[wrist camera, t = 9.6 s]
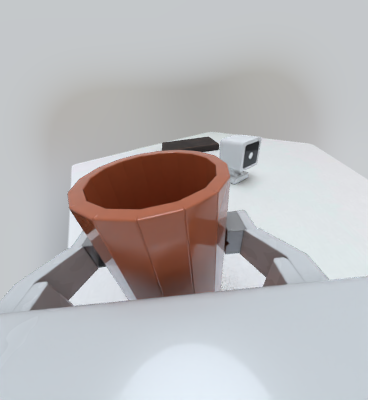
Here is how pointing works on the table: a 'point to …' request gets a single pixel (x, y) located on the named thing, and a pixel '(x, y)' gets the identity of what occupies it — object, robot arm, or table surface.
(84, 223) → the cup
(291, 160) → the table surface
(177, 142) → the hardcover book
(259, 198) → the table surface
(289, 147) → the table surface
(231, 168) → the security camera
